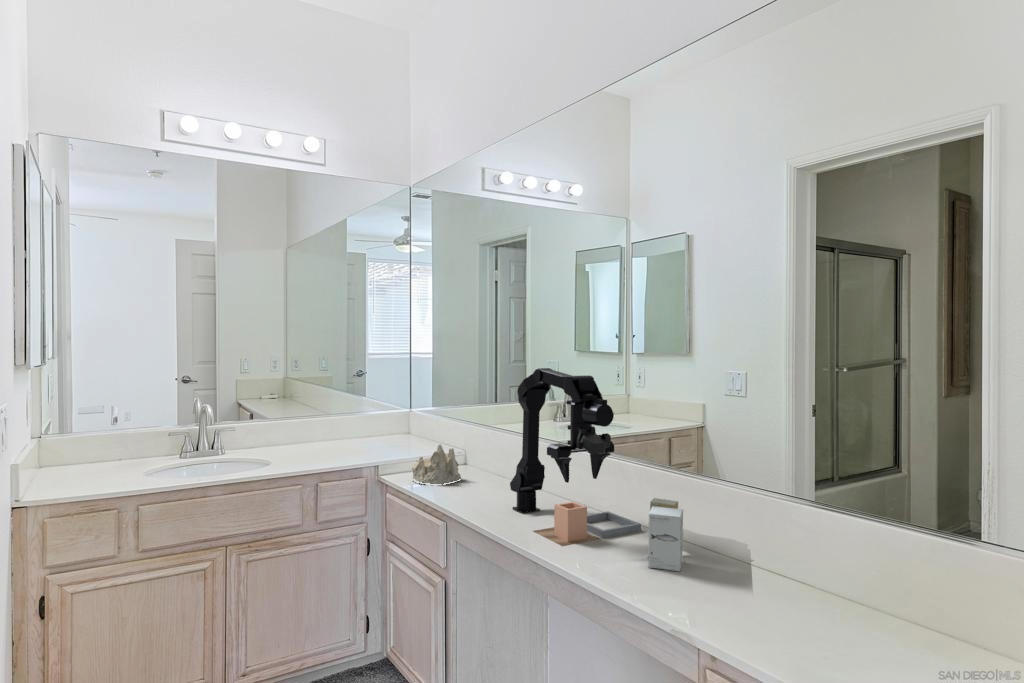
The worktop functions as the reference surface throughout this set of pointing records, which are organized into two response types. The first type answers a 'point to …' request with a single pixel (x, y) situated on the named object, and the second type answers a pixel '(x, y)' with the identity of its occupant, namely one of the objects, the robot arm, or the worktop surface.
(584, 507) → the terracotta collar
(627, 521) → the charcoal tray
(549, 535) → the walnut base
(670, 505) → the skincare box
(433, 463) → the miniature mountain rock
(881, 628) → the worktop surface
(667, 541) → the supplement box
